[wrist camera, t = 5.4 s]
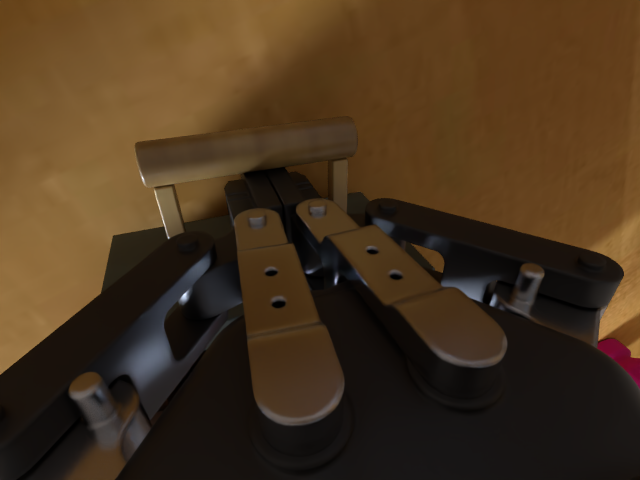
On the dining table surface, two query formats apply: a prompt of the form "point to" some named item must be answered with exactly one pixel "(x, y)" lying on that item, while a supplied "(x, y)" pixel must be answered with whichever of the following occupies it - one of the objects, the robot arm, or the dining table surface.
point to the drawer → (229, 159)
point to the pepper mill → (622, 357)
